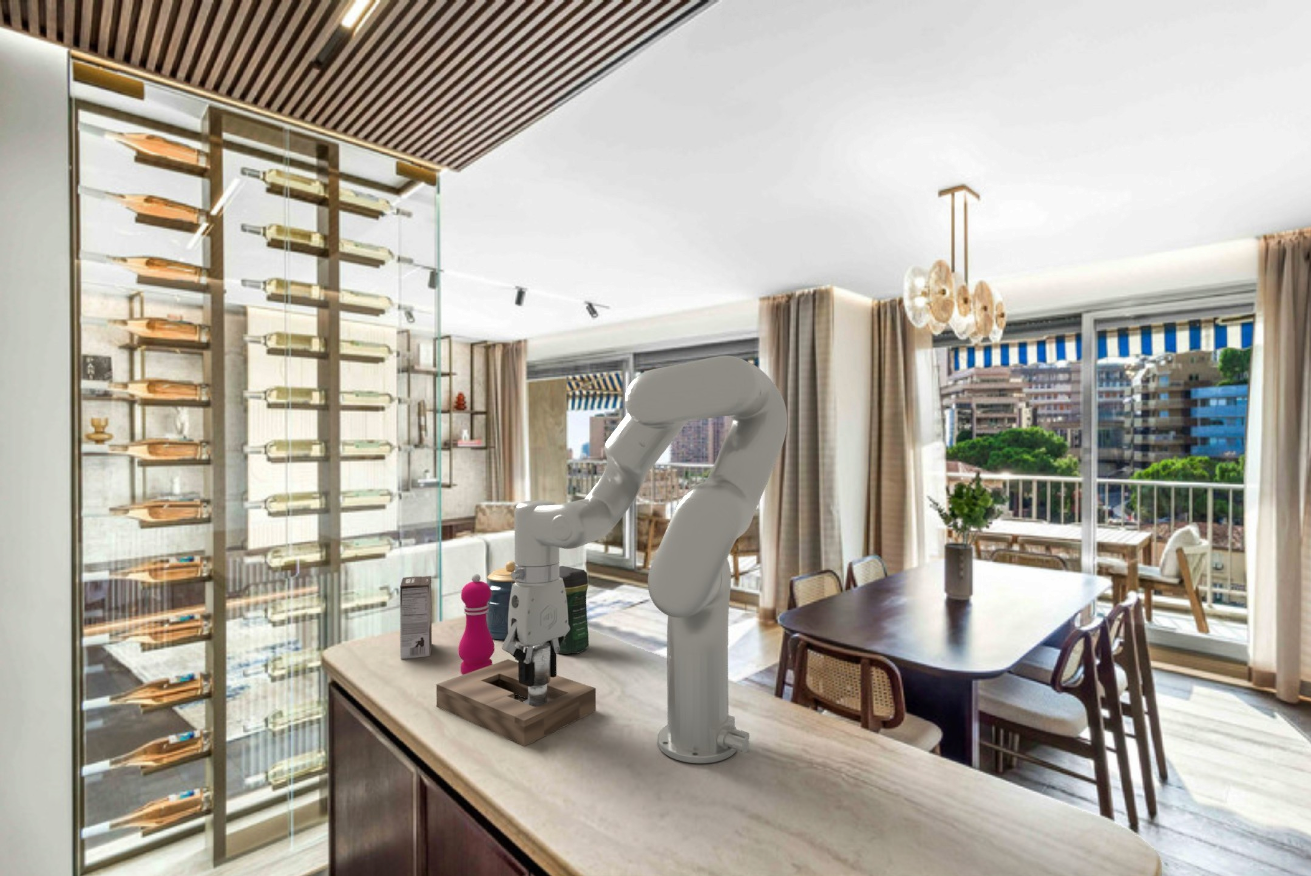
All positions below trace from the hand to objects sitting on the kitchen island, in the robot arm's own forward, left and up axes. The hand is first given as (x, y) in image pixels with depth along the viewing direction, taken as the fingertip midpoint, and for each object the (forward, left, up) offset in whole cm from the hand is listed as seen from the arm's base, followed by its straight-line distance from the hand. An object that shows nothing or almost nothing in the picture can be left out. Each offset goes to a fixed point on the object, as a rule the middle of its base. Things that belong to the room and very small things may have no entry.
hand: (537, 678), depth 107 cm
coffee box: (+48, -6, -7) cm, 49 cm away
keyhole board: (+6, 0, -7) cm, 9 cm away
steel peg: (0, 0, -6) cm, 6 cm away
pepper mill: (+27, -7, -7) cm, 29 cm away
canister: (+42, -28, -7) cm, 51 cm away
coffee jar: (+22, -28, -7) cm, 36 cm away
